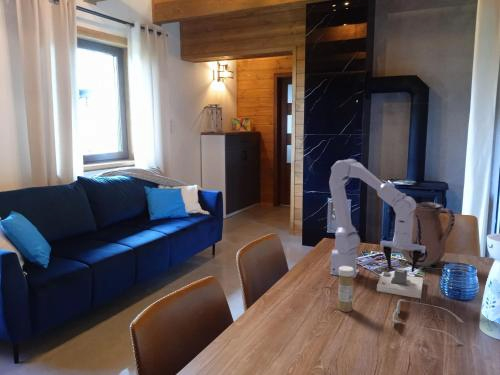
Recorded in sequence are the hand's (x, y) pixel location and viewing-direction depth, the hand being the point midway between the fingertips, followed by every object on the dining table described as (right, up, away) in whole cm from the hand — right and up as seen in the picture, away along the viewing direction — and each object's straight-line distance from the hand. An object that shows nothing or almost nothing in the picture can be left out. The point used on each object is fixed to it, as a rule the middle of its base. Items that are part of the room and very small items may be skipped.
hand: (400, 269), depth 138 cm
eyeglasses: (-2, -11, -25) cm, 28 cm away
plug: (0, -7, +1) cm, 7 cm away
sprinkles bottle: (-23, -9, -15) cm, 29 cm away
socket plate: (0, -6, +1) cm, 7 cm away
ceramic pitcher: (+19, -3, +24) cm, 31 cm away
